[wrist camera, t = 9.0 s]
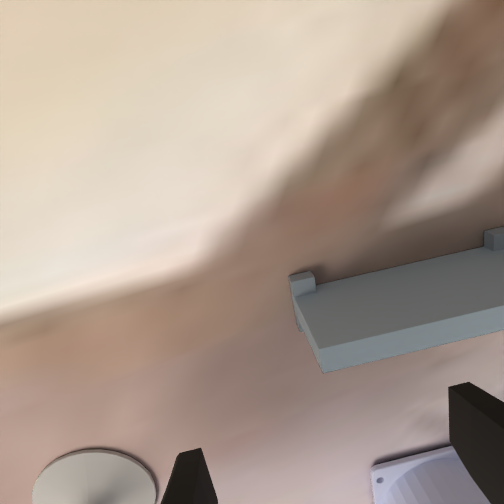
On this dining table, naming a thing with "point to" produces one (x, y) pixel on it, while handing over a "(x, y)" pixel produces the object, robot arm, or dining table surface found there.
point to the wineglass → (94, 480)
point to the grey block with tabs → (403, 306)
